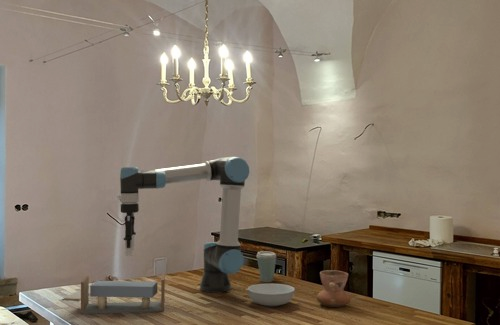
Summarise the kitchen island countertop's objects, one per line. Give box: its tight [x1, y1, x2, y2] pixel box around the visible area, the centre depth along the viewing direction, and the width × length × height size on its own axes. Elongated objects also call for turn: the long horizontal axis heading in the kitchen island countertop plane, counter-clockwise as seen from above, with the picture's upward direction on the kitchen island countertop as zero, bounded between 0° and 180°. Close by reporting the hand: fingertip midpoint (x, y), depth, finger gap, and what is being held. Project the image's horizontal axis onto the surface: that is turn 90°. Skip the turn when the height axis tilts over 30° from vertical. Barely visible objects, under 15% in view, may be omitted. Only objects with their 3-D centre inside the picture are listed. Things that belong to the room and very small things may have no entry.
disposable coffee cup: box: [256, 250, 277, 283], centre depth 271 cm, size 11×11×15 cm
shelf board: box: [89, 280, 158, 299], centre depth 217 cm, size 9×26×4 cm, turn 87°
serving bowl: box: [247, 283, 296, 307], centre depth 227 cm, size 21×21×7 cm
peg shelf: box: [80, 273, 166, 315], centre depth 217 cm, size 12×33×13 cm, turn 99°
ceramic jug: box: [316, 269, 351, 308], centre depth 226 cm, size 18×14×14 cm
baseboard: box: [61, 280, 104, 302], centre depth 245 cm, size 30×3×10 cm
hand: (130, 252), depth 220 cm, fingers open, 13 cm apart
